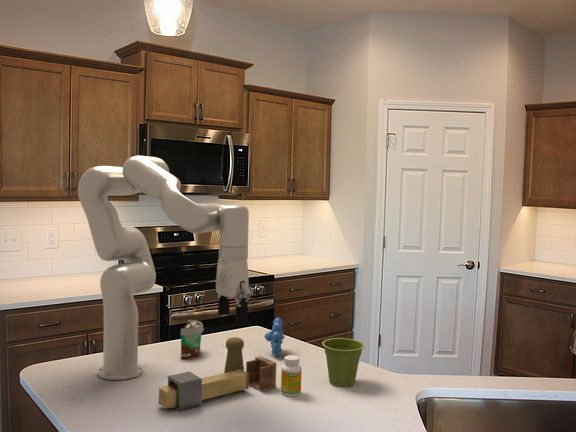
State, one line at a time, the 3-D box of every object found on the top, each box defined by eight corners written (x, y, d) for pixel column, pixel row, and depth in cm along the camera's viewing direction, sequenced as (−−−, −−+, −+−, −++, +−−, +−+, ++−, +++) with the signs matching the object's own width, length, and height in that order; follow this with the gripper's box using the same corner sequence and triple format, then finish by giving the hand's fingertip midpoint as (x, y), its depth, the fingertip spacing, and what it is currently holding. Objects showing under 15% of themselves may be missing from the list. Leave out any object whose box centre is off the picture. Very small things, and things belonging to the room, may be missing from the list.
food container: (199, 361, 176) (200, 329, 176) (180, 360, 176) (180, 328, 176) (206, 349, 189) (206, 320, 188) (187, 349, 189) (188, 319, 188)
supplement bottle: (286, 398, 148) (287, 361, 147) (277, 391, 152) (278, 355, 152) (304, 395, 150) (305, 359, 150) (295, 388, 155) (295, 353, 154)
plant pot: (312, 382, 160) (313, 343, 159) (338, 373, 169) (339, 335, 168) (346, 393, 152) (347, 352, 151) (371, 383, 161) (372, 344, 160)
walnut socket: (245, 383, 157) (246, 359, 157) (260, 380, 160) (260, 356, 160) (260, 391, 152) (261, 366, 151) (275, 387, 155) (276, 362, 154)
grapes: (265, 348, 191) (266, 313, 191) (285, 349, 191) (286, 314, 190) (261, 359, 180) (262, 322, 179) (282, 360, 179) (283, 323, 179)
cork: (241, 380, 160) (242, 341, 160) (220, 378, 161) (221, 340, 161) (247, 373, 166) (247, 336, 166) (227, 371, 167) (228, 334, 167)
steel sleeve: (167, 403, 142) (167, 375, 142) (188, 398, 146) (189, 371, 145) (179, 411, 137) (180, 383, 137) (201, 406, 141) (201, 378, 140)
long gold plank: (158, 403, 139) (158, 387, 139) (239, 384, 154) (240, 369, 154) (166, 409, 136) (166, 392, 136) (248, 388, 151) (248, 373, 151)
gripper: (205, 249, 152) (204, 312, 153) (236, 257, 138) (235, 326, 139) (230, 248, 156) (229, 310, 157) (263, 256, 142) (261, 323, 143)
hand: (232, 317), depth 148 cm, fingers open, 9 cm apart
